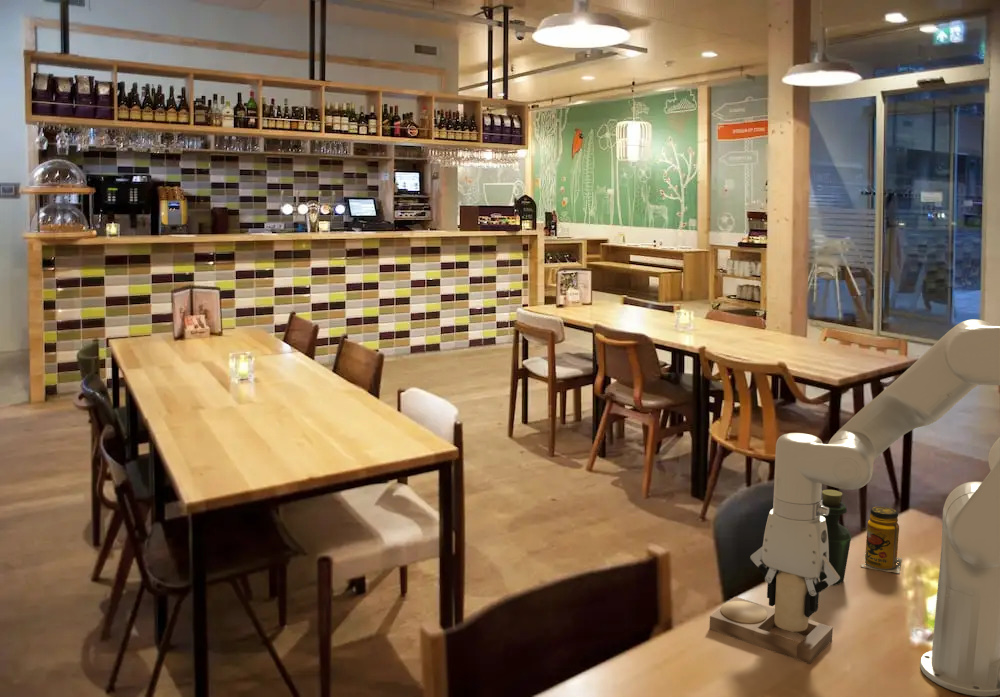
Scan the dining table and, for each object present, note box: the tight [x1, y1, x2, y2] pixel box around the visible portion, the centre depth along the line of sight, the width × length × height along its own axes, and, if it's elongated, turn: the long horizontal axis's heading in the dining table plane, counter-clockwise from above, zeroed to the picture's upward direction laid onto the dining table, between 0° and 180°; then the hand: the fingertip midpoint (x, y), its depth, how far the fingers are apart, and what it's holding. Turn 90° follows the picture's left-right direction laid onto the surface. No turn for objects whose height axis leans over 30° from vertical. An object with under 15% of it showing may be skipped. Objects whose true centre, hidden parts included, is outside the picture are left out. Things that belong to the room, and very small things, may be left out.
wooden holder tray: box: [709, 596, 834, 665], centre depth 151 cm, size 18×10×3 cm, turn 49°
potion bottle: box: [819, 489, 852, 586], centre depth 172 cm, size 8×8×18 cm
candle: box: [774, 571, 810, 633], centre depth 147 cm, size 6×6×10 cm
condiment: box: [860, 506, 903, 574], centre depth 180 cm, size 7×8×12 cm
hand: (791, 607), depth 147 cm, fingers closed on candle, 5 cm apart
